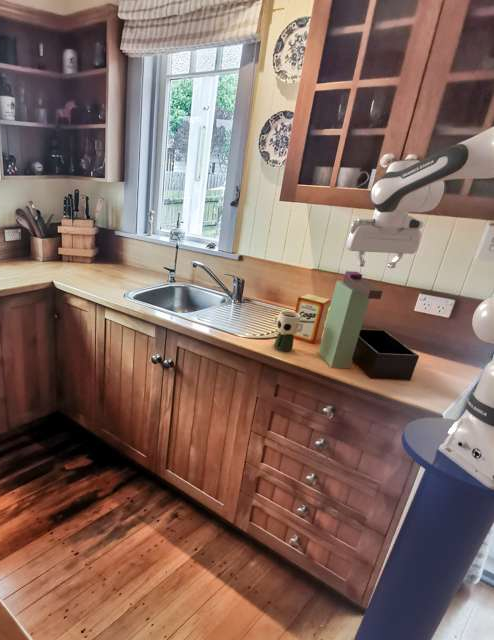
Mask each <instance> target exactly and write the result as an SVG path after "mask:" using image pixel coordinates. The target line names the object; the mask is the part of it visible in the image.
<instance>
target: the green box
mask: <svg viewBox="0 0 494 640" xmlns="http://www.w3.org/2000/svg"><path fill="white" fill-rule="evenodd" d="M369 302H370V299H369V298H367V297H365V296H364V295H362V294H360V293H359V292H357V291H356V290H354V289H353V288H351V287H350V286H348V285H347V284H345V283H344V282H343V280H336V282H335V286H334V290H333V294H332V298H331V301H330V305H329V307H330V309H329V313H328V317H327V321H326V325H325V328H324V329H323V333H322V337H321V340H320V344H319V348H318V354H319V355H320V357H321V358H322V359H323V360H324V361H325V362H326V363H327V364H328V365H329V367H330V368H339V369H350V367H351V363H352V362H353V361H352V357H353V354H354V350H355V347H356V344H357V340H358V337H359V333H360V330H361V329H362V326H363V323H364V319H365V317H366V316H365V315H366V313H367V309H368V306H369Z"/></svg>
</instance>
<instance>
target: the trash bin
mask: <svg viewBox="0 0 494 640" xmlns="http://www.w3.org/2000/svg"><path fill="white" fill-rule="evenodd" d="M419 358H420V355H419V354H418V353H416V352H415V351H414V350H412V349H411V348H409V346H407V345H406V344H404V343H403V342H401V341H400V340H399V339H397V338H396V337H394V336H393V335H392V334H391V333H389V332H388V331H387V330H385V329H370V328H369V329H368V328H361V330H360V333H359V337H358V340H357V344H356V347H355V350H354V354H353V357H352V361H351V362H353V363H354V364H355V365H356V366H357V367H358V368H359V369H360V370H361V371H362V372H363V373H364V374H365V375H366V376H367V377H368V378H369V379H370V380H371V379H373V380H392V381H411V380H412V378H413V374H414V372H415V369H416V367H417V363H418V361H419Z"/></svg>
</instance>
